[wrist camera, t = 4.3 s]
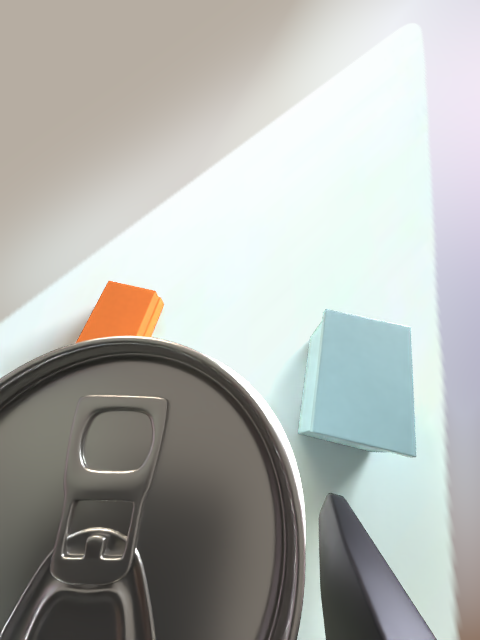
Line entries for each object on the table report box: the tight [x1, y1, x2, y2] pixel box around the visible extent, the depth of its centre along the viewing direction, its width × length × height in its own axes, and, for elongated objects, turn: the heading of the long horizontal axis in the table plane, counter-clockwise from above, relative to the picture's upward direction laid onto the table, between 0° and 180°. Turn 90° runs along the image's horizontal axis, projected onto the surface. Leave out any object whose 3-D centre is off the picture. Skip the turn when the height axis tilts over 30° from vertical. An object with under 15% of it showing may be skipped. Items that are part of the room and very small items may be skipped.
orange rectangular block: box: [76, 281, 164, 343], centre depth 17 cm, size 6×3×2 cm, turn 167°
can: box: [0, 336, 306, 640], centre depth 9 cm, size 6×6×12 cm
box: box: [298, 309, 416, 457], centre depth 15 cm, size 6×4×4 cm
